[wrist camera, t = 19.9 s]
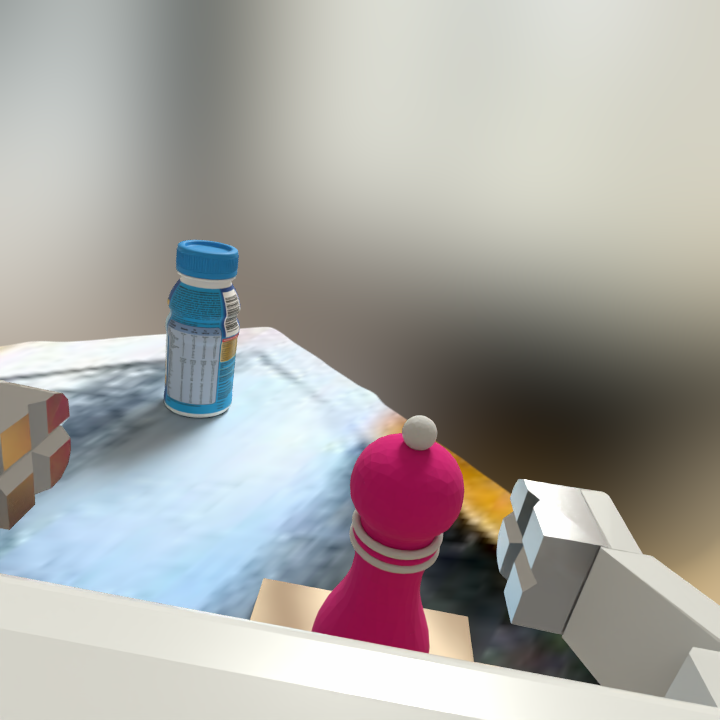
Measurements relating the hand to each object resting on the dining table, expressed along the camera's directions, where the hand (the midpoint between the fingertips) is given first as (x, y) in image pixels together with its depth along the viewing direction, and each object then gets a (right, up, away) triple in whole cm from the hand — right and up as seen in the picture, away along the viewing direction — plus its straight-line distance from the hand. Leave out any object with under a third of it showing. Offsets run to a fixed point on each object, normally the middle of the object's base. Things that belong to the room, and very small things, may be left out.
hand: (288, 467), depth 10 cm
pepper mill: (+1, -19, +25) cm, 32 cm away
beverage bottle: (-19, -4, +60) cm, 63 cm away
